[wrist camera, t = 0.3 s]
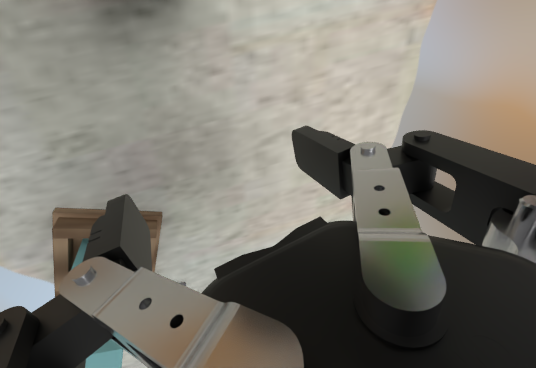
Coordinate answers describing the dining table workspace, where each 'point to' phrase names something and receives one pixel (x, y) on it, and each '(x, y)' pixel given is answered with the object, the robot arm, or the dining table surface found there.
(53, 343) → the robot arm
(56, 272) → the square wooden tray
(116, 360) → the block
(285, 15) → the dining table surface
